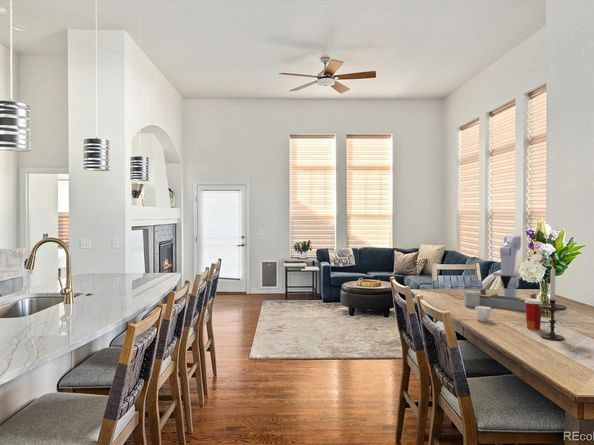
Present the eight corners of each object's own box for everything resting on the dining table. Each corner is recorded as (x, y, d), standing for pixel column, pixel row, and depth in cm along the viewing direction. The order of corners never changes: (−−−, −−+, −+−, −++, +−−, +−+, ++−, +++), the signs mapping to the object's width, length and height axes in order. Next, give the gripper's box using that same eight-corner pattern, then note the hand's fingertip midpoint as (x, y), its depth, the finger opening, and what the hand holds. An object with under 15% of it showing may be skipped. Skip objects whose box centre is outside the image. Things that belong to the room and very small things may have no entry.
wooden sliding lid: (484, 293, 291) (484, 287, 291) (497, 294, 286) (497, 288, 286) (476, 296, 280) (476, 290, 279) (489, 297, 274) (489, 291, 274)
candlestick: (533, 334, 208) (534, 258, 208) (558, 335, 208) (558, 258, 207) (546, 341, 197) (546, 260, 197) (571, 341, 197) (572, 260, 196)
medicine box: (477, 305, 277) (477, 291, 277) (479, 307, 272) (479, 292, 272) (464, 305, 277) (464, 291, 277) (466, 307, 273) (466, 292, 273)
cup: (489, 319, 240) (489, 306, 240) (493, 323, 230) (493, 310, 230) (474, 318, 242) (474, 305, 242) (476, 322, 232) (476, 309, 232)
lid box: (484, 301, 291) (484, 293, 291) (539, 308, 270) (539, 299, 270) (475, 304, 279) (475, 296, 279) (532, 312, 258) (532, 303, 258)
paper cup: (540, 327, 222) (541, 299, 222) (543, 331, 214) (544, 301, 214) (523, 326, 224) (523, 298, 224) (525, 329, 217) (525, 300, 217)
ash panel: (525, 297, 275) (525, 291, 275) (539, 299, 270) (539, 293, 270) (517, 301, 264) (517, 294, 264) (532, 302, 258) (532, 296, 258)
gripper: (491, 265, 280) (491, 287, 280) (516, 267, 271) (516, 290, 271) (495, 265, 286) (495, 286, 286) (520, 266, 276) (519, 289, 276)
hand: (505, 288), depth 279 cm, fingers closed
